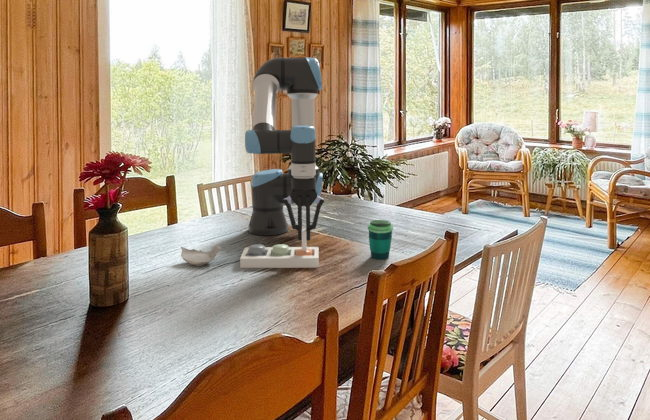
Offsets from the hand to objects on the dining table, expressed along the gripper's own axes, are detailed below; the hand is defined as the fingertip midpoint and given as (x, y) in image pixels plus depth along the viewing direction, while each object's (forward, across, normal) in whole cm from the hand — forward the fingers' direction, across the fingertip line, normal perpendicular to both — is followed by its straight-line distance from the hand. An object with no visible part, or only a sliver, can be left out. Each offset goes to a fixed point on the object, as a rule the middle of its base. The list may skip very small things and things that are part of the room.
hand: (304, 250), depth 174 cm
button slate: (+1, -15, 0) cm, 15 cm away
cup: (+4, +24, +3) cm, 25 cm away
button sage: (+1, -8, 0) cm, 8 cm away
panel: (+4, -8, 0) cm, 8 cm away
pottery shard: (+4, -33, -1) cm, 33 cm away
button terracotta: (+2, 0, 0) cm, 2 cm away
